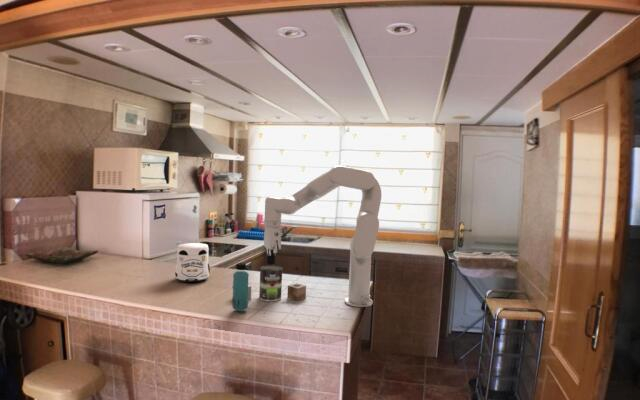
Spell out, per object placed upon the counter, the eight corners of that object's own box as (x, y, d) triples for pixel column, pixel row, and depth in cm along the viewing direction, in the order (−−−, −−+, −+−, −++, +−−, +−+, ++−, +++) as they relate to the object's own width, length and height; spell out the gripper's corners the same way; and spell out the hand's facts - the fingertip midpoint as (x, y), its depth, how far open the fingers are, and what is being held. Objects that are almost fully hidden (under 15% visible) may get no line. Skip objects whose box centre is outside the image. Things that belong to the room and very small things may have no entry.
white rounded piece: (187, 286, 190) (188, 250, 189) (168, 279, 200) (168, 245, 199) (216, 279, 204) (217, 246, 202) (196, 273, 214) (197, 241, 213)
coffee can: (283, 301, 174) (284, 270, 173) (260, 302, 171) (261, 270, 170) (279, 294, 184) (280, 264, 183) (257, 294, 181) (258, 265, 180)
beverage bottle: (249, 308, 163) (250, 261, 161) (246, 314, 156) (248, 265, 155) (233, 308, 162) (234, 261, 161) (230, 313, 156) (231, 265, 154)
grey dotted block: (250, 299, 174) (251, 286, 174) (237, 300, 173) (237, 286, 172) (249, 295, 180) (250, 282, 180) (236, 296, 179) (237, 282, 178)
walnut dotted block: (305, 298, 179) (306, 285, 179) (296, 301, 175) (297, 287, 174) (296, 295, 183) (296, 282, 183) (287, 298, 178) (287, 285, 178)
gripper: (287, 226, 171) (285, 267, 172) (273, 221, 184) (272, 259, 185) (271, 226, 167) (269, 268, 168) (258, 222, 180) (257, 260, 181)
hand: (270, 263), depth 177 cm, fingers closed
